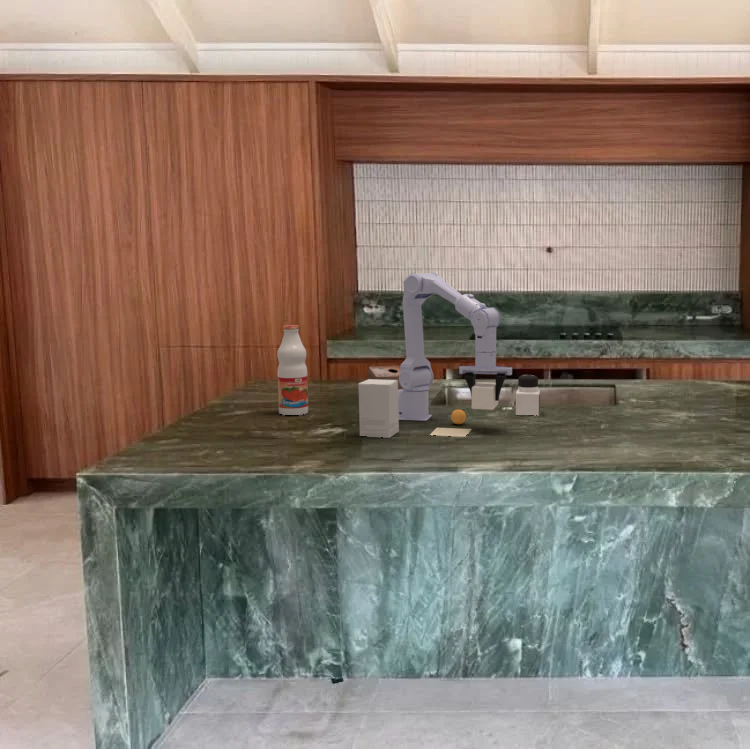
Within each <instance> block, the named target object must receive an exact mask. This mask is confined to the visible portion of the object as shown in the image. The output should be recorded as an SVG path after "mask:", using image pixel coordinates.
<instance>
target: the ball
mask: <svg viewBox="0 0 750 749" xmlns="http://www.w3.org/2000/svg"><path fill="white" fill-rule="evenodd" d="M466 414H467V413H466V412H465V411H464V410H462V409H458V408H457V409H455V410H453V411H452V412H451V414H450V419H451V421H452V423H454V425H455V424H456V425H462V424H463V423H464V422H466V420H467V415H466Z"/></svg>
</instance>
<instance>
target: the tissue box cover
mask: <svg viewBox="0 0 750 749" xmlns="http://www.w3.org/2000/svg"><path fill="white" fill-rule="evenodd" d="M367 371H368V372H367V374H368V379H377V380H398V390H399V389H403V388H402V387H401V385H400V382H399V374H400V365H384V366H383V365H377V366H375V365H374V366H367Z"/></svg>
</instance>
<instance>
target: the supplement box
mask: <svg viewBox="0 0 750 749" xmlns="http://www.w3.org/2000/svg"><path fill="white" fill-rule="evenodd" d="M357 385H358V410H359V411H358V414H359V415H358V416H359V421H358V422H359V437H360V436H367V437H366V438H381V437H383V438H384V439H390V438H391V437H393V436H394V435H396V434H397V433H399V432H400V426H399V421H400V420H399V417H398V380H377V379H369V378H368V379H366V380H364V381H361V382H359V383H357ZM383 438H382V439H383Z"/></svg>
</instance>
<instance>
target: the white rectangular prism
mask: <svg viewBox="0 0 750 749" xmlns="http://www.w3.org/2000/svg"><path fill="white" fill-rule="evenodd" d="M495 395H496V382H488V381H477V382H475V385H474V386H473V387H472V397H471V409H472V410H488V411H493V410H495V409H496V407H498V404H499V400H498V401H495Z"/></svg>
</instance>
